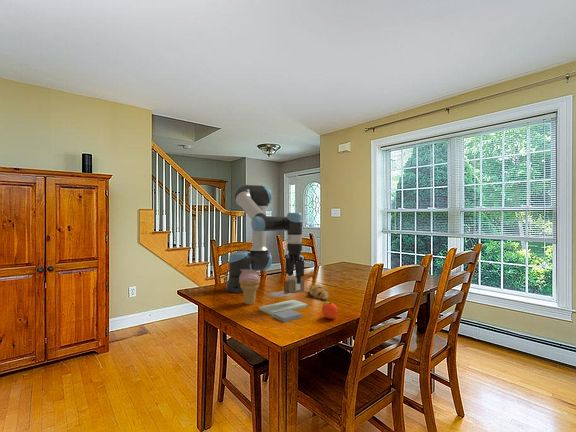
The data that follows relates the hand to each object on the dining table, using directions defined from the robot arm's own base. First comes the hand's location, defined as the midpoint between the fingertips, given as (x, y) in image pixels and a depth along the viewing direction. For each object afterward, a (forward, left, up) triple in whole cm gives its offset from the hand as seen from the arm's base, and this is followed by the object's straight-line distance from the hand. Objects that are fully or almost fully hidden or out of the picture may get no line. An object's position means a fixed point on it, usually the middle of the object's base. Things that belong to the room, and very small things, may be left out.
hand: (294, 289), depth 154 cm
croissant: (-6, +23, -9) cm, 25 cm away
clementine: (+24, 0, -9) cm, 25 cm away
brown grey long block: (0, -5, -1) cm, 5 cm away
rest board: (0, -7, -8) cm, 11 cm away
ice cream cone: (-17, -16, -9) cm, 25 cm away
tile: (+12, -9, -8) cm, 17 cm away
